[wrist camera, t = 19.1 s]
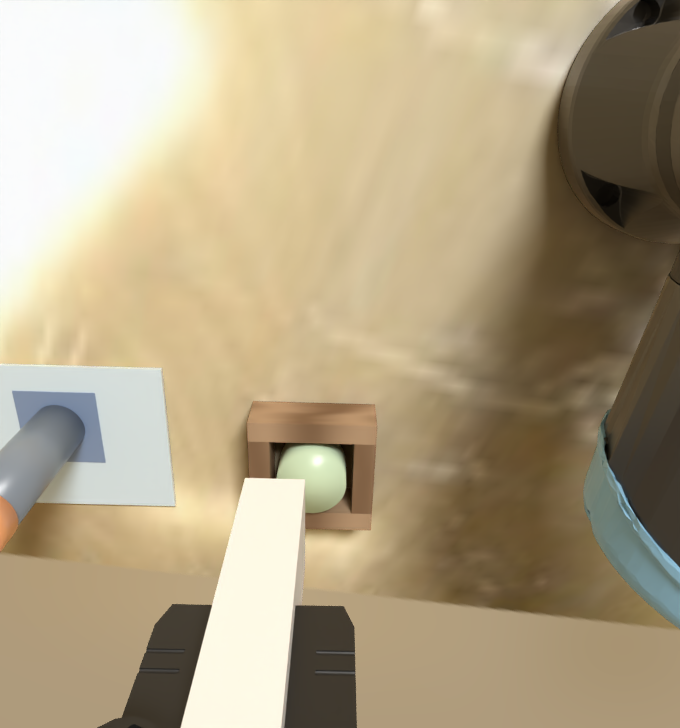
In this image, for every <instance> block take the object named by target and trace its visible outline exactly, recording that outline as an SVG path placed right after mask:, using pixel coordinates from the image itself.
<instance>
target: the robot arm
mask: <svg viewBox="0 0 680 728" xmlns="http://www.w3.org/2000/svg"><path fill="white" fill-rule="evenodd" d="M558 148H559V154H560V159H561V163H562V167H563V170H564V173H565V176H566V178H567V180H568V183H569V185H570V187H571V188H572V190H573V192H574V193H575V195H576V197H577V198H578V199H579V201H580V202H581V203H582V204H583V205H584V207H585V208H586V209H587V210H588V211H589V212H590V213H592V214H593V215H594V216H595V217H596V218H598V219H599V220H600V221H602V222H604V223H605V224H607V225H609V226H611V227H612V228H615V229H617V230H619V231H621V232H624V233H626V234H628V235H631V236H633V237H636V238H639V239H642V240H647V241H651V242H658V243H669V244H680V0H621V1H620V2H618V3H617V4H616V5H615V6H614V7H613V8H612V9H611V10H610V11H609V12H608V13H607V14H606V15H605V16H604V17H603V19H602V20H601V21H600V22H599V23H598V25H597V26H596V27H595V28H594V30H593V31H592V33H591V34H590V35H589V37H588V38H587V40H586V41H585V43H584V44H583V46H582V48H581V50H580V51H579V53H578V55H577V57H576V59H575V61H574V63H573V65H572V67H571V70H570V72H569V75H568V77H567V80H566V83H565V86H564V90H563V94H562V98H561V103H560V108H559V115H558ZM583 498H584V507H585V511H586V513H587V516H588V518H589V520H590V521H591V525H592V530H593V534H594V536H595V539H596V541H597V542H598V544H599V546H600V548H601V549H602V551H603V552H604V554H605V555H606V557H607V558H608V560H609V561H610V563H611V564H612V565H613V567H614V568H615V569H616V570H617V572H618V573H619V574H620V575H621V577H622V578H623V579H624V580H625V581H626V582H627V583H628V584H629V586H630V587H631V588H632V589H633V590H634V591H635V592H636V593H637V594H638V595H639V596H640V597H642V598H643V599H644V600H645V601H646V602H647V603H648V604H649V605H650V606H651V607H652V608H654V609H655V610H656V611H657V612H658V613H660V614H661V615H662V616H663V617H664V618H666V619H667V620H668V621H670V622H671V623H672V624H674V625H675V626H676V627H678V628H679V629H680V251H679V253H678V256H677V258H676V260H675V263H674V265H673V267H672V270H671V272H670V273H669V275H668V277H667V279H666V282H665V284H664V286H663V289H662V291H661V293H660V296H659V298H658V301H657V303H656V305H655V308H654V310H653V312H652V315H651V317H650V319H649V322H648V324H647V327H646V329H645V331H644V334H643V336H642V338H641V341H640V343H639V345H638V348H637V350H636V353H635V355H634V357H633V360H632V362H631V364H630V367H629V369H628V371H627V374H626V376H625V379H624V381H623V383H622V386H621V388H620V390H619V393H618V395H617V397H616V400H615V402H614V404H613V406H612V408H611V409H610V410H608V411H607V412H606V414H605V416H604V417H603V419H602V422H601V425H600V427H599V431H598V443H597V447H596V450H595V452H594V455H593V458H592V461H591V464H590V467H589V469H588V472H587V475H586V479H585V482H584V490H583ZM304 571H305V479H269V478H245V480H244V484H243V488H242V492H241V496H240V500H239V504H238V507H237V511H236V515H235V519H234V523H233V527H232V531H231V535H230V538H229V542H228V546H227V550H226V554H225V558H224V562H223V566H222V569H221V573H220V577H219V581H218V585H217V589H216V593H215V597H214V600H213V604H212V605H185V604H172V606H171V607H170V608H169V609H168V611H166V613H165V614H164V615H163V616H162V617H161V618H160V620H159V621H158V622H157V623H156V624H155V626H154V629H153V632H152V635H151V638H150V640H149V643H148V646H147V651H146V653H145V654H144V657H143V660H142V663H141V665H140V671H139V673H138V674H137V676H136V680H135V682H134V685H133V688H132V690H131V693H130V697H129V699H128V702H127V705H126V707H125V710H124V713H123V716H122V718H118V719H114V720H112V721H110V722H108V723H106V724H104V725H102V726H100V727H98V728H357V724H356V723H357V721H356V682H355V681H356V680H355V642H354V641H355V640H354V639H355V638H354V626H353V624H352V622H351V620H350V618H349V616H348V614H347V612H346V610H345V608H344V607H343V606H302V595H303V583H304Z"/></svg>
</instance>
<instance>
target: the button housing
mask: <svg viewBox="0 0 680 728" xmlns="http://www.w3.org/2000/svg"><path fill="white" fill-rule="evenodd" d="M247 436H248V461H249V478H269V479H275V449H274V442H284V443H322V444H353V451H352V474H351V488H346V490H345V493H344V496H343V497H342V499H341V500H340V502H339V503H338V504H336V505H335V506H334V507H332V508H331V509H329V510H326V511H323V512H319V513H305V529H342V530H371V517H372V501H373V485H374V469H375V454H376V438H377V420H376V411H375V405H370V404H333V403H296V402H259V401H253V404H252V408H251V411H250V414H249V418H248V421H247Z"/></svg>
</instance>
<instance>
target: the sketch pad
mask: <svg viewBox="0 0 680 728" xmlns="http://www.w3.org/2000/svg"><path fill="white" fill-rule="evenodd" d="M49 405H59V406H63V407H66V408H68V409H70V410H72V411H73V412H75V413H76V414H77V415H78V416H79V417H80V419H81V420H82V422H83V424H84V427H85V436H84V438H83V440H82V442H81V443H80V444H79V446H78V447H77V448H76V450H75V451H74V452H73V454H72V455H71V456H70V458H69V459H68V460H67V462H66V463H65V464H64V466H63V467H62V468H61V469H60V471H59V472H58V473H57V475H56V476H55V477H54V479H53V480H52V481H51V483H50V484H49V485H48V487H47V488H46V489H45V491H44V492H43V493H42V495H41V496H40V497H39V499H38V500H37V501H36V503H66V504H106V505H146V506H175V505H176V498H175V488H174V478H173V469H172V459H171V449H170V440H169V430H168V420H167V411H166V401H165V391H164V382H163V372H162V368H139V367H103V366H66V365H30V364H0V450H1V449H2V448H3V447H4V446H5V445H6V444H7V443H8V442H9V441H10V440H11V439H12V438H13V437H14V436H15V435H16V434H17V432H18V431H19V430H20V429H21V428H22V427H23V426H24V425H25V424H26V423H27V422H28V421H29V420H30V419H31V418H32V417H33V416H34V415H35V414H36V413H37V412H38V411H39V410H40V409H41V408H43V407H45V406H49Z"/></svg>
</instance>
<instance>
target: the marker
mask: <svg viewBox="0 0 680 728" xmlns="http://www.w3.org/2000/svg"><path fill="white" fill-rule="evenodd" d="M84 436H85V427H84V424H83V422H82V420H81V419H80V417H79V416H78V415H77V414H76V413H75V412H73V411H72V410H70V409H68V408H66V407H63V406H59V405H49V406H45V407H43V408H41V409H40V410H39V411H38V412H37V413H36V414H35V415H34V416H33V417H32V418H31V419H30V420H29V421H28V422H27V423H26V424H25V425H24V426H23V427H22V428H21V429H20V430H19V431H18V432H17V434H16V435H15V436H14V437H13V438H12V439H11V440H10V441H9V442H8V443H7V444H6V445H5V446H4V447H3V448H2V449H1V450H0V552H1V551H2V549H3V548H4V547H5V545H6V544H7V543H8V541H9V540H10V539H11V537H12V536H13V535H14V533H15V532H16V530H17V528H18V525H19V524H20V522H21V521H22V520H23V518H24V517H25V516H26V515H27V513H28V512H29V511H30V509H31V508H32V507H33V505H34V504H35V503H36V501H37V500H38V499H39V497H40V496H41V495H42V493H43V492H44V491H45V489H46V488H47V487H48V485H49V484H50V483H51V481H52V480H53V479H54V477H55V476H56V475H57V473H58V472H59V471H60V469H61V468H62V467H63V466H64V464H65V463H66V462H67V460H68V459H69V458H70V456H71V455H72V454H73V452H74V451H75V450H76V448H77V447H78V446H79V444H80V443H81V442H82V440H83V438H84Z"/></svg>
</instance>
